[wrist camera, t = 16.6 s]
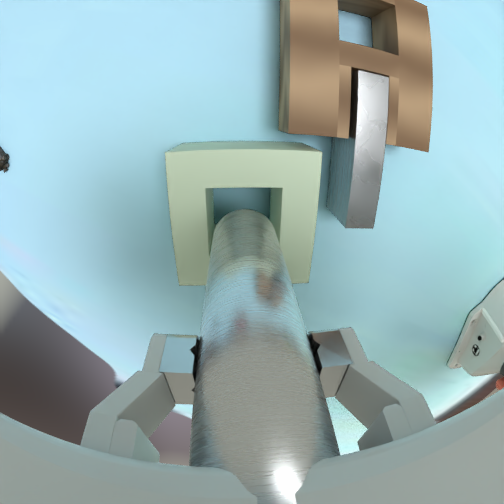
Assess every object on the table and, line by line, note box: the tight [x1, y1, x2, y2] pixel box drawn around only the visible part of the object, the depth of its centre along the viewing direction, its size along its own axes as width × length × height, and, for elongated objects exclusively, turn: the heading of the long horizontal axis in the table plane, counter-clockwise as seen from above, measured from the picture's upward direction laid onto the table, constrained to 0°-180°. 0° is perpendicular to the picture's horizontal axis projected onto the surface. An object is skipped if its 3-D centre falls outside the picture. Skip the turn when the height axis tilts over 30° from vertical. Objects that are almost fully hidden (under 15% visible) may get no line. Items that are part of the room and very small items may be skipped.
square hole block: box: [165, 141, 322, 285], centre depth 21 cm, size 10×10×6 cm
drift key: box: [326, 70, 389, 228], centre depth 20 cm, size 12×2×5 cm, turn 179°
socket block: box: [279, 0, 433, 152], centre depth 16 cm, size 14×12×4 cm
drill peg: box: [189, 209, 340, 504], centre depth 10 cm, size 4×4×14 cm
